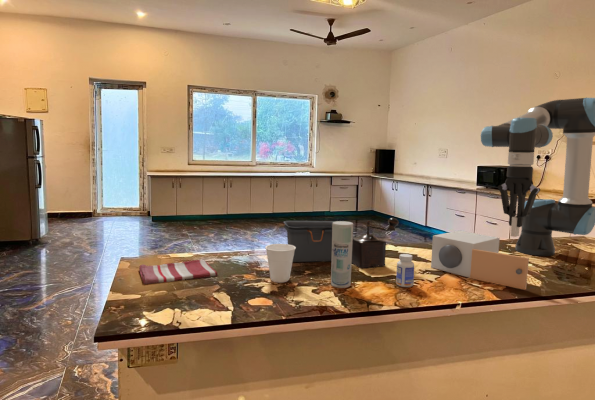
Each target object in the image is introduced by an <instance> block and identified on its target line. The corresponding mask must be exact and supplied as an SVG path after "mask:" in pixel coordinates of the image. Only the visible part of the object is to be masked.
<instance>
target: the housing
mask: <svg viewBox="0 0 595 400" xmlns="http://www.w3.org/2000/svg"><path fill="white" fill-rule="evenodd" d="M431 243H432V245H431V246H432V247H431V261H430V262H431V264H430V267H431V268H432V269H437V270H439V271H444V272H447V273H451V274H454V275H457V276H458V275H459V276H462V277H465V278H470V273H471V260H472V249H477V250H483V251H489V252H495V253H500V251H499V250H500V237H499V236H491V235H486V234H481V233H477V232H470V231H464V230H455V231H450V232H446V233H440V234H435V235H432V242H431ZM470 279H471V278H470Z"/></svg>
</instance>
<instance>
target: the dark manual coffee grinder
mask: <svg viewBox="0 0 595 400" xmlns="http://www.w3.org/2000/svg"><path fill="white" fill-rule="evenodd" d="M387 222H388V227H387V228H385V227H384V228H383V227H381V226H380V227H379V226H374V225H373V226H372V225H371V221H370V220H367V221H366V234H363V235H360V236H359V237H353V241H352V263H351V264H352V265H355V266H356V267H357V268H360V269H367V268H368V269H371V268H377V267H379V268H380V267H385V266H386V252H387V251H386V250H387V248H386V247H387V242H386V241H385V240H383V239H379V238H377V237H376V236H374V235H373V234H370V229H375V230H381V231H385V232H393V231H394V232H395V231H396V227H398V225H399V224H400V223H399V220H398V219H397V218H394V217H390V218H389V219H388V220H387Z"/></svg>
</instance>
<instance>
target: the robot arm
mask: <svg viewBox="0 0 595 400" xmlns="http://www.w3.org/2000/svg"><path fill="white" fill-rule="evenodd" d="M557 129H558V130H562V134H563V135H564V136H565V137H566V147H565V163H564V164H565V165H564V179H563V191H562V193H563V194H562V197H561V198H559V199H558V200H557V203H556V200H555V199H551V198H550V199H549V198H547V199H544V198H543V199H541V198H540V199H536V198H537V195H538V194H539V193H540V191H541V188H540V187H537V186H535V185H534V182H533V174H534V167H533V165H534V162H535V161H534V160H535V148H544V147H547V146H548V145H549V144H550V143H551V142H552V140H553V134H554V133H553V131H552V130H557ZM594 137H595V97H580V98H568V99H567V98H565V99H555V100H550V101H547V102H545V103H541V104H539V105H536V106H534V107H531V108H529V109H528V110H527V111H526V113H524V114H522V115H519V116H517V117H513V118H512V119H510V120H508V121H506V122H503V123H501V124H499V125H490V126H484V128H482V130H481V133H480V142H481V144H482V145H483V146H485V147H489V148H490V147H491V148H495V147H496V148H508V153H507V154H508V155H507V164H508V166H507V168H506V170H507V171H506V179H505V181H504V183H502V184H501V185H500V184H499V185H498V186H497V189H498V190H499V191H498V192H500V193H499V194H500V198H501V205H502V210H503V214H504V215H507V216H508V217H509V218H508V225H509V226H510V227H511V228H510V237H513V238H515V237H518V239H517V241H516V243H515V249H514V250H515V251H517V252H519V253H520V254H526V255H532V256H539V257H540V256H542V257H547V256H548V257H550V256H554V255H556V247H555V245H554V243H555V242H554V240H553V235H552V234H553V232H557V233H558V232H559V233H566V234H573V235H577V236H578V235H579V236H581V235H582V236H587V235H589V234H590V233H591V232H592V231H593V229H594V228H595V206H593V201H592V199H590V198H589V195H590V194H589V192H590V180H591V167H592V157H593V155H592V153H593V143H594V141H593V140H594ZM508 191H509V194H508ZM528 191H529V192H530V193H529V195H528V198H527V200H526V196H527V193H528ZM520 228H521V229H520ZM520 230H521V232H520Z"/></svg>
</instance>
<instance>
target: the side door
mask: <svg viewBox="0 0 595 400" xmlns="http://www.w3.org/2000/svg"><path fill="white" fill-rule="evenodd" d="M529 262H530V258H529V257H525V256H518V255H512V254H507V253H501V252H498V253H495V252H489V251H483V250H477V249H472V260H471V273H470V279H473V280H478V281H482V282H488V283H492V284H497V285H501V286H506V287H510V288H515V289H520V290H527V286H528V285H527V284H528V273H529Z"/></svg>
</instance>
